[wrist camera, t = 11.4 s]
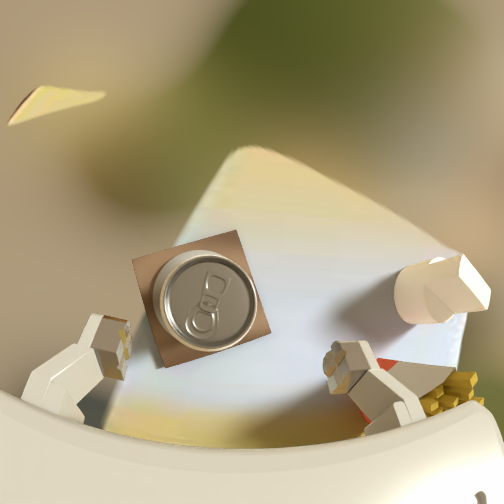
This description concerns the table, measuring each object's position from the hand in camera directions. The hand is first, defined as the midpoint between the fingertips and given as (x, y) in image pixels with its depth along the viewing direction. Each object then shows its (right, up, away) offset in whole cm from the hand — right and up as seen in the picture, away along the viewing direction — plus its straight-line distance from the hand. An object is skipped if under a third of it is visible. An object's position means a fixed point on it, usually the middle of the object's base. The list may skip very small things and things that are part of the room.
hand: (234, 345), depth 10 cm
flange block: (-5, -1, +19) cm, 20 cm away
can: (-4, -2, +17) cm, 18 cm away
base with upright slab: (+25, -3, +26) cm, 36 cm away
